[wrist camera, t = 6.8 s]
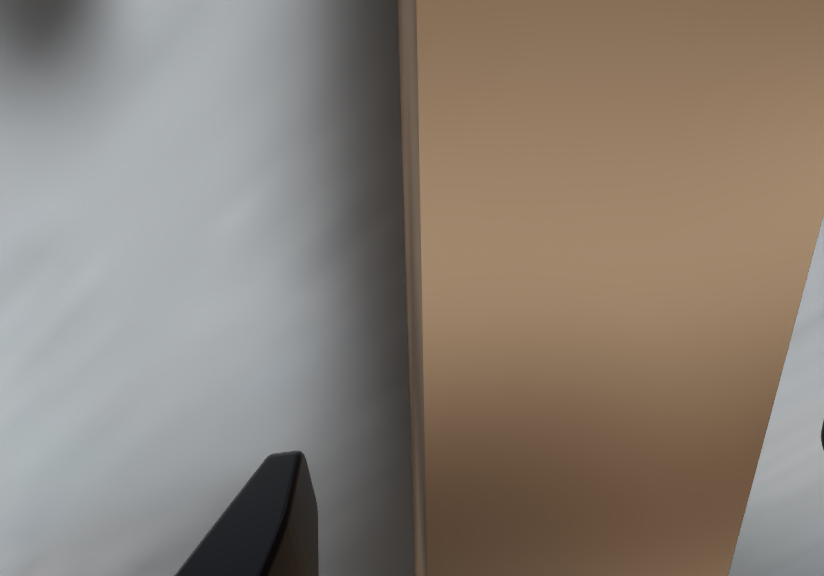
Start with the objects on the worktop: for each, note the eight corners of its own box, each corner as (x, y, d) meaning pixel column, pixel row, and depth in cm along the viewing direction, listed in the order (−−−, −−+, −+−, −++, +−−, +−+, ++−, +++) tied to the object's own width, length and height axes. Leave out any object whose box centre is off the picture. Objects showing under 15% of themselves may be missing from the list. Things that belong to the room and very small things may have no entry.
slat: (584, 645, 15) (649, 869, 12) (416, 656, 15) (432, 887, 12) (721, -343, 8) (1021, -537, 4) (386, -338, 8) (406, -535, 4)
